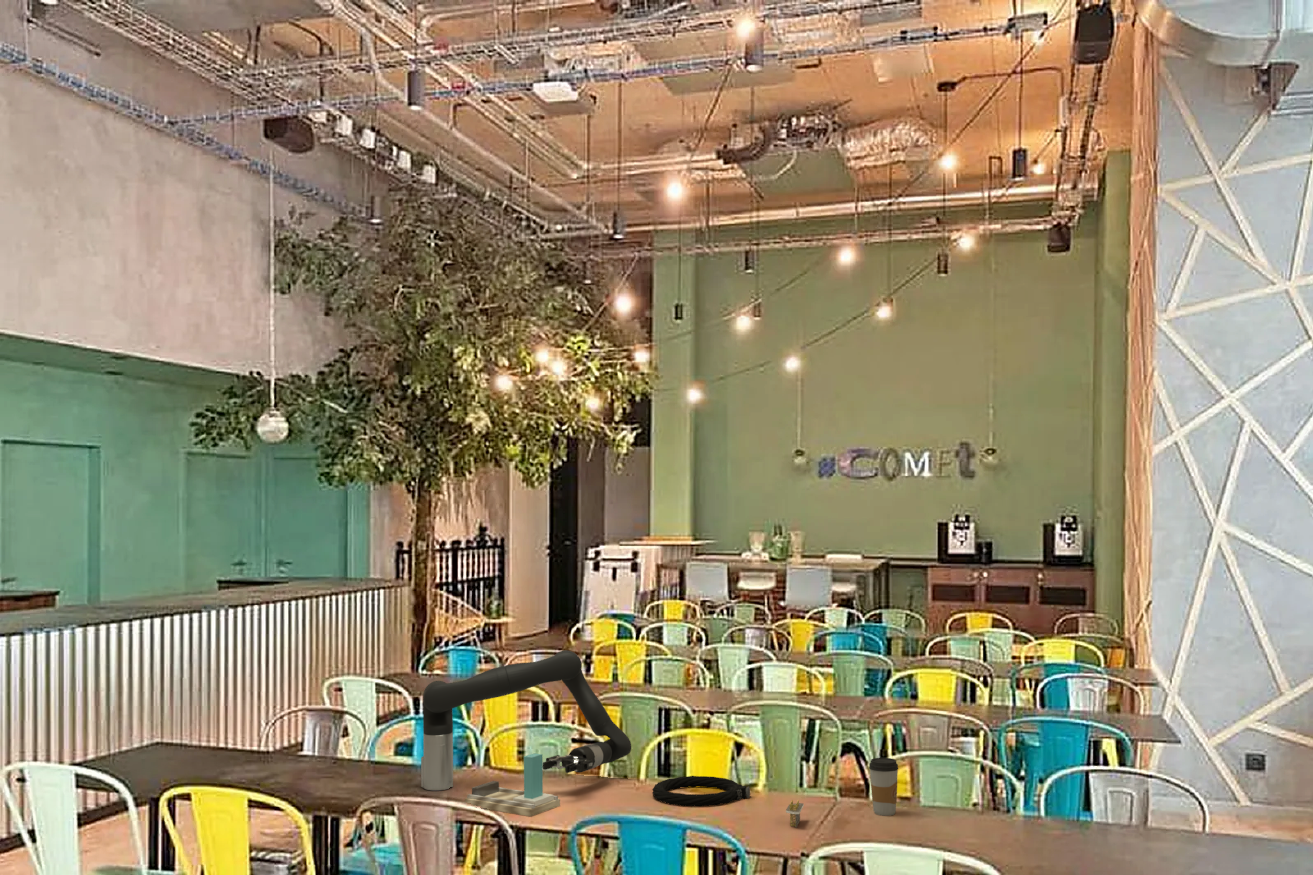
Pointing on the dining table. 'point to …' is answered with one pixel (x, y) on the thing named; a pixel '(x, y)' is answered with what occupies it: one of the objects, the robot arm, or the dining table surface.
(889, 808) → the coffee cup
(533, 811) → the rail board
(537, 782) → the post
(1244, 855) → the dining table surface
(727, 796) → the cable lock
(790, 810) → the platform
